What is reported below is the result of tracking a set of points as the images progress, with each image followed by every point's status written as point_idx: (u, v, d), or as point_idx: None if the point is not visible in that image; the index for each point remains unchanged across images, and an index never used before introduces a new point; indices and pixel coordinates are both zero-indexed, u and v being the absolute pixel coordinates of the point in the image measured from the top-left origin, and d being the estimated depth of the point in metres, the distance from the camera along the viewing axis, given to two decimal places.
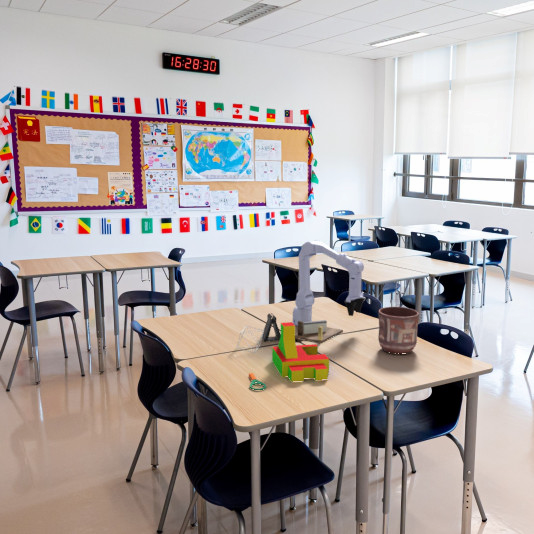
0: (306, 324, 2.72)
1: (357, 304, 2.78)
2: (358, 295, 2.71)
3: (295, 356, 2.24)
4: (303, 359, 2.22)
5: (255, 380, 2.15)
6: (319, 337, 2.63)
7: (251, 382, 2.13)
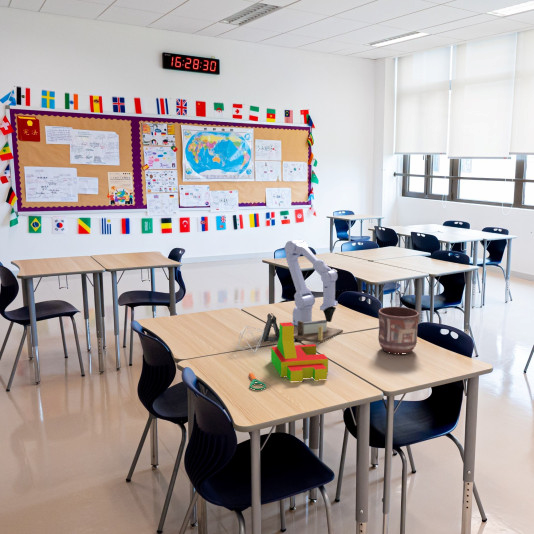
0: (306, 324, 2.72)
1: None
2: (332, 303, 2.78)
3: (294, 356, 2.24)
4: (302, 359, 2.22)
5: (255, 380, 2.15)
6: (319, 337, 2.63)
7: (251, 382, 2.13)
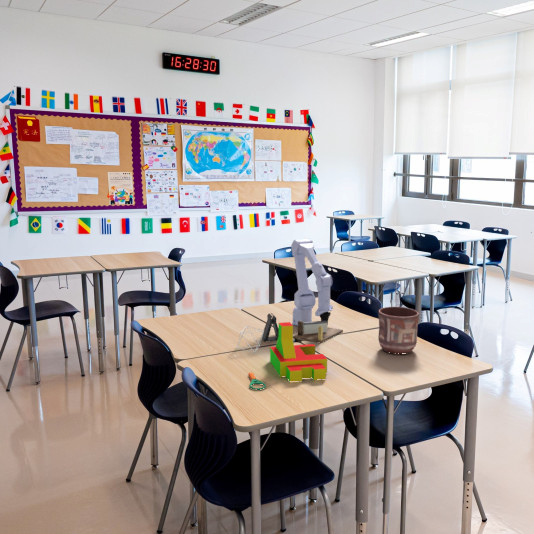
0: (306, 324, 2.71)
1: (323, 319, 2.77)
2: (327, 308, 2.73)
3: (293, 356, 2.24)
4: (301, 359, 2.22)
5: (255, 380, 2.16)
6: (319, 337, 2.63)
7: (251, 381, 2.13)
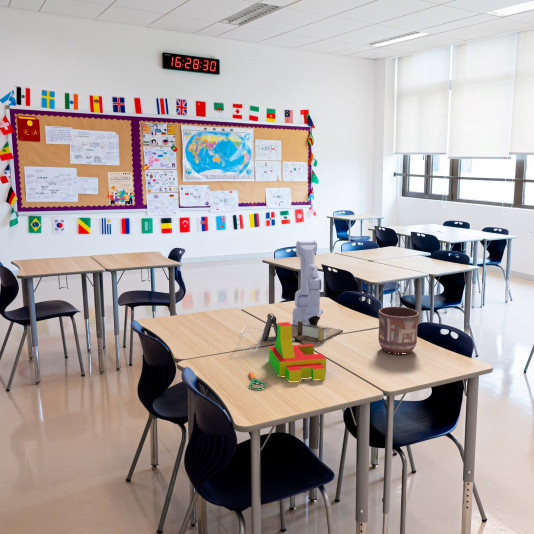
0: (304, 325, 2.69)
1: (312, 323, 2.69)
2: (316, 312, 2.66)
3: (292, 356, 2.24)
4: (300, 359, 2.22)
5: (255, 379, 2.16)
6: (319, 337, 2.63)
7: (251, 381, 2.14)
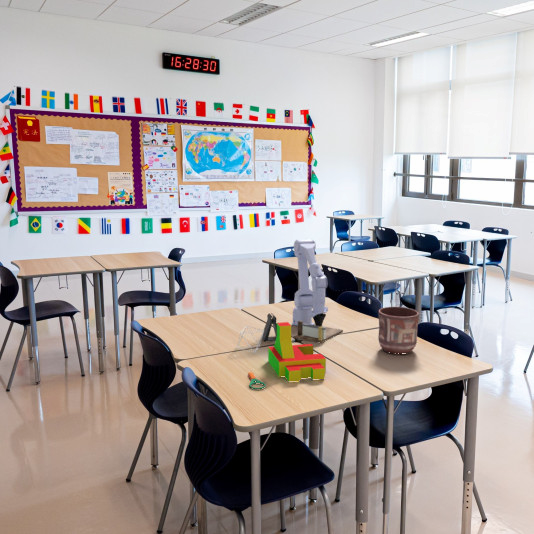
0: (304, 325, 2.69)
1: None
2: (322, 310, 2.70)
3: (292, 356, 2.24)
4: (300, 359, 2.22)
5: (254, 379, 2.16)
6: (319, 337, 2.63)
7: (251, 381, 2.14)
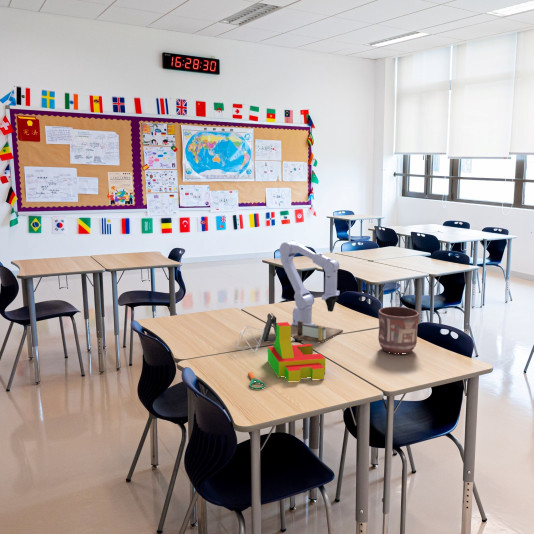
0: (304, 325, 2.69)
1: None
2: (334, 293, 2.79)
3: (291, 356, 2.24)
4: (299, 359, 2.22)
5: (254, 379, 2.16)
6: (319, 337, 2.63)
7: None
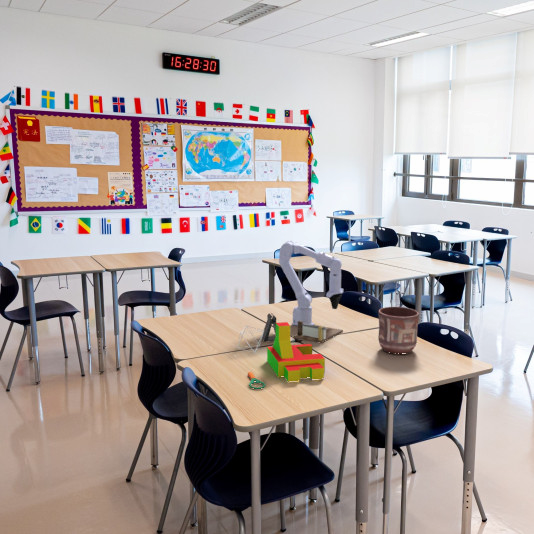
0: (304, 325, 2.69)
1: None
2: (338, 291, 2.84)
3: (291, 356, 2.24)
4: (299, 359, 2.23)
5: (254, 379, 2.16)
6: (319, 337, 2.63)
7: (250, 381, 2.14)
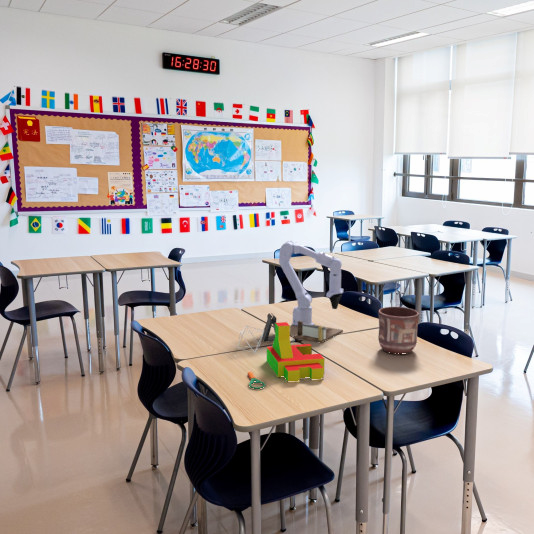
0: (304, 325, 2.69)
1: None
2: (338, 291, 2.84)
3: (290, 356, 2.24)
4: (299, 359, 2.23)
5: (254, 379, 2.16)
6: (319, 337, 2.63)
7: (250, 381, 2.14)
